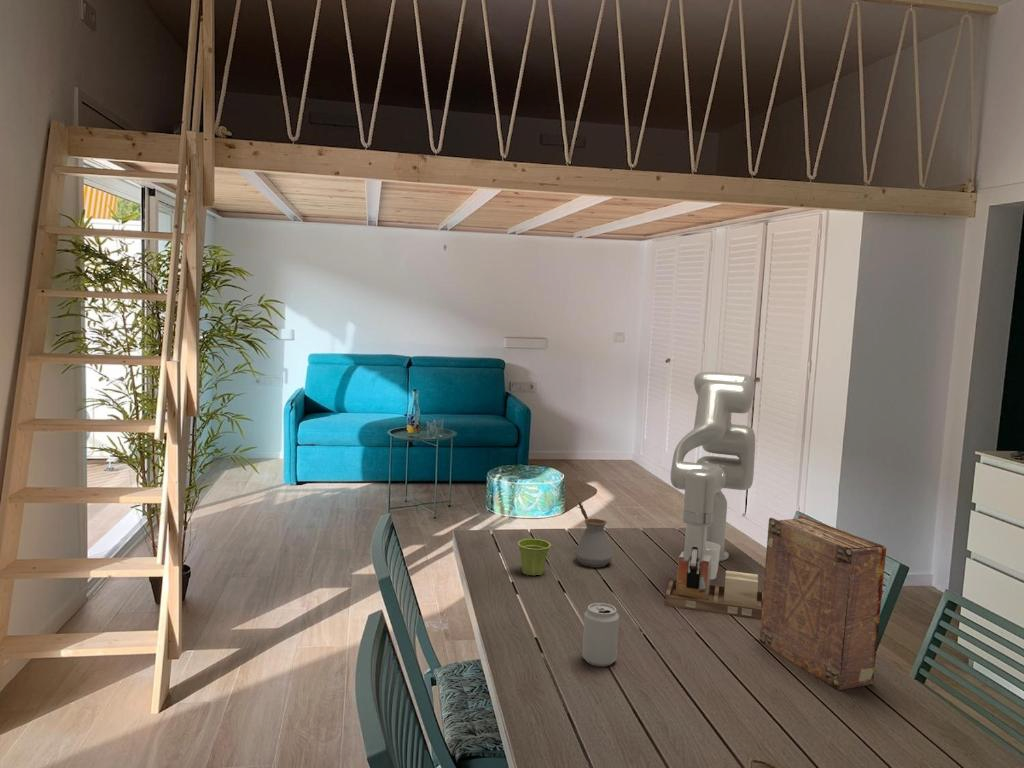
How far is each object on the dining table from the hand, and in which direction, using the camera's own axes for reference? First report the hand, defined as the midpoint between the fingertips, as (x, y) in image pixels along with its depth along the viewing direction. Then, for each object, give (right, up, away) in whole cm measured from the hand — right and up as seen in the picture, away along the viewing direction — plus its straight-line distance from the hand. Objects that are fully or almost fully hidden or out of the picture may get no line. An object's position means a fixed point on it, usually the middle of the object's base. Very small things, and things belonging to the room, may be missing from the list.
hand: (693, 583), depth 211 cm
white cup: (+7, -4, +20) cm, 22 cm away
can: (-29, -8, -36) cm, 47 cm away
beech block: (+11, -5, -3) cm, 13 cm away
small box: (0, -3, 0) cm, 3 cm away
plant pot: (-42, -2, +19) cm, 46 cm away
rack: (+5, -6, -1) cm, 8 cm away
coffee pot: (-25, -1, +34) cm, 42 cm away
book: (+19, -10, -32) cm, 39 cm away
